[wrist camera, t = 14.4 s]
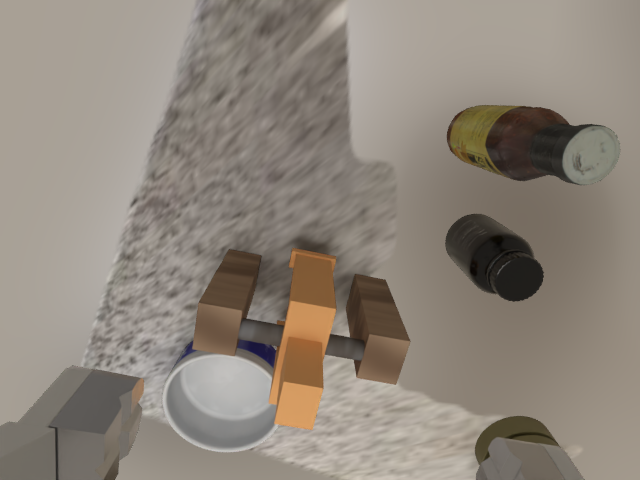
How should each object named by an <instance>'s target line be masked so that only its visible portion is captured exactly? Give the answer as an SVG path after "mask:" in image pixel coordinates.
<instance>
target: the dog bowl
mask: <svg viewBox="0 0 640 480" xmlns="http://www.w3.org/2000/svg"><path fill="white" fill-rule="evenodd" d="M192 347H193V341H192V342H191V343H190V344H189V345H188V346H187V347H186V348H185V350H184V351H183V353H182V354H181V356H180V357H179V359H178V360H177V362H176V364H175V365H174V367H173V369H172V371H171V372H170V374H169V376H168V378H167V380H166V382H165V384H164V387H163V391H162V406H163V410H164V413H165V416H166V418H167V420H168V422H169V423H170V425H171V426H172V428H173V429H174V430H175V431H176V432H177V433H178V434H179V435H180V436H181V437H183V438H184V439H185V440H187V441H188V442H190V443H192V444H194V445H196V446H198V447H200V448H203V449H207V450H210V451H216V452H237V451H243V450H247V449H250V448H253V447H255V446H257V445H259V444H261V443H263V442H264V441H266V440H267V439H268V438H269V437H270V436H271V435H272V434H273V433H274V432H275V431H276V430H277V428H278V427H279V424H274V421H275V413H276V405H275V404H269V396H270V389H271V383H272V376H273V370H274V363H275V356H276V350H275V349H274V348H273V347H272V346H271V345H269V344H263V343H257V342H252V341H246V340H241V339H240V340H239V343H238V347H237V350H236V353H235V356H229V355H223V354H217V353H211V352H206V351H200V350H194V349H192Z"/></svg>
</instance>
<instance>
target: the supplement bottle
mask: <svg viewBox="0 0 640 480" xmlns="http://www.w3.org/2000/svg"><path fill="white" fill-rule="evenodd" d="M445 244H446V250H447V253H448V255H449V256H450V257H451V259H452V260H453V261H454V262H455V263H456V264H457V266H459V267H460V269H461V270H462V271H463V272H464V273H465V274H466V276H467V277H469V279H470V280H471V281H472V282H473V283H474V284H475V285H476V286H477V287H478V288H480V289H481V290H482V291H484V292H487V293H491V294H498V295H499V296H500V297H502V298H504V299H506V300H509V301H520V300H524V299H528V297H531V296H532V295H533V294H535V293H536V291H537V290H539V287H540V286H541V285H542V282H543V277H544V276H543V273H544V272H543V270H542V267H541V265H540V263H538V262H537V260H536V259H535V258H534V253H533V250H532V248H531V246H530V245H529V244H528V242H526V241H525V240H524V239H523V238H522V237H520V236H518V235H517V234H515V233H514V232H512V231H511V230H509V229H508V228H506V227H505V226H503V225H501V224H500V223H498V222H496V221H495V220H493V219H492V218H490V217H488V216H485V215H482V214H471V215H467V216H464V217H462V218H460V219H459V220H458V221H456V222H455V223H454V224H453V225H452V226H451V228H450V229H449V231H448V233H447V236H446V243H445Z"/></svg>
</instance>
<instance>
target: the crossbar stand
mask: <svg viewBox="0 0 640 480" xmlns="http://www.w3.org/2000/svg"><path fill="white" fill-rule="evenodd" d="M260 260H261V255H256V254H251V253H246V252H240V251H235V250H230V249H229V251H228V252H227V254H226V256H225V258H224V259H223V261H222V263H221V264H220V266H219V268H218V270H217V271H216V273H215V275H214V277H213V278H212V280H211V282H210V284H209V285H208V287H207V289H206V291H205V292H204V294H203V296H202V298H201V299H200V301H199V303H198V311H197V318H196V325H195V333H194V340H193V347H192V349H194V350H200V351H206V352H211V353H217V354H223V355H229V356H235V353H236V350H237V347H238V343H239V340H240V339H241V340H246V341H252V342H257V343H263V344H269V345H274V346H280V343H281V338H282V334H283V329H284V325H278V324H273V323H267V322H262V321H257V320H251V319H246V318H247V315H248V311H249V308H250V305H251V302H252V299H253V295H254V292H255V287H256V282H257V276H258V271H259V265H260ZM346 312H347V319H348V325H349V332H350V337H344V336H339V335H333V334H330V336H329V340H328V344H327V347H326V351H325V355H331V356H336V357H342V358H347V359H353V360H354V364H355V370H356V377H357V378H361V379H366V380H372V381H378V382H384V383H389V384H395V385H396V383H397V380H398V377H399V374H400V371H401V368H402V365H403V363H404V360H405V357H406V353H407V351H408V347H409V345H410V339H409V337H408V334H407V332H406V329H405V327H404V324H403V322H402V320H401V317H400V315H399V312H398V310H397V307H396V305H395V302H394V300H393V297H392V295H391V292H390V290H389V288H388V285H387V282H386V280H383V279H378V278H373V277H368V276H363V275H358V274H355V276H354V280H353V284H352V287H351V291H350V295H349V299H348V302H347V306H346Z"/></svg>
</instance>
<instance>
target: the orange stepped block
mask: <svg viewBox="0 0 640 480" xmlns="http://www.w3.org/2000/svg"><path fill="white" fill-rule="evenodd" d="M335 263H336V256H331V255H326V254H321V253H316V252H311V251H306V250H301V249H296V248H292V253H291V258H290V263H289V267H290V268H293V275H292V282H291V290H290V298H289V306H288V310H287V315H286V320H285V322H284V321H279V320H277V324H278V325H284V329H283V334H282V338H281V343H280V346H277V350H276V356H275V363H274V370H273V376H272V383H271V389H270V396H269V404H275V405H276V413H275V421H274V424H279V425H285V426H291V427H297V428H303V429H310V430H312V429H313V425H314V422H315V418H316V414H317V410H318V407H319V403H320V399H321V395H322V392H323V359H324V355H325V351H326V347H327V344H328V340H329V336H330V332H331V328H332V324H333V320H334V317H335V313H336V301H335V291H334V281H333V271H334V267H335Z"/></svg>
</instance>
